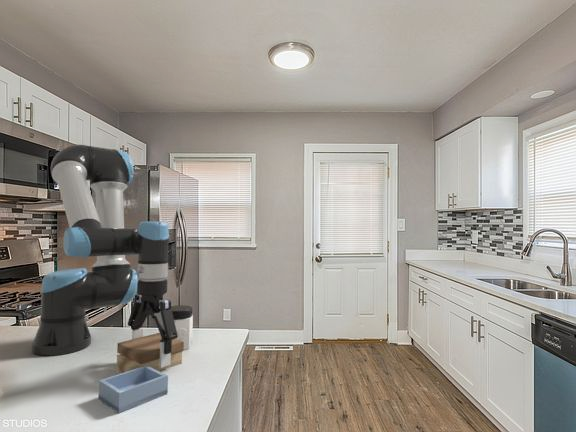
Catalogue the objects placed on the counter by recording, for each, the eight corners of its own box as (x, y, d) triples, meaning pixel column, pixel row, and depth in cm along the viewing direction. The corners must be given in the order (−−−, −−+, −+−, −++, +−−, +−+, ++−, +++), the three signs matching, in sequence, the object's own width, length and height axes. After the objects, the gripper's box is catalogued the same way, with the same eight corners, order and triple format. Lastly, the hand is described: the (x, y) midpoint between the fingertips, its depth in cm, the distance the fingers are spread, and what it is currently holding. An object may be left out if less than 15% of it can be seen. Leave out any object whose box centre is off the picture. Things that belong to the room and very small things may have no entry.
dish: (98, 399, 76) (99, 380, 77) (146, 382, 85) (146, 365, 85) (118, 413, 71) (119, 393, 71) (167, 393, 80) (168, 375, 80)
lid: (117, 352, 93) (117, 343, 93) (158, 341, 103) (158, 332, 103) (141, 364, 86) (141, 353, 86) (183, 351, 95) (183, 341, 95)
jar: (166, 353, 104) (167, 312, 104) (159, 345, 111) (160, 307, 111) (196, 348, 109) (197, 309, 109) (188, 340, 116) (189, 304, 116)
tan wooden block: (116, 371, 91) (117, 355, 91) (165, 356, 102) (165, 342, 102) (132, 380, 86) (133, 363, 86) (181, 363, 97) (182, 348, 97)
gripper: (116, 275, 100) (113, 352, 99) (166, 286, 84) (164, 376, 83) (141, 273, 105) (139, 345, 105) (193, 282, 90) (191, 367, 89)
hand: (150, 359), depth 94 cm, fingers open, 13 cm apart
